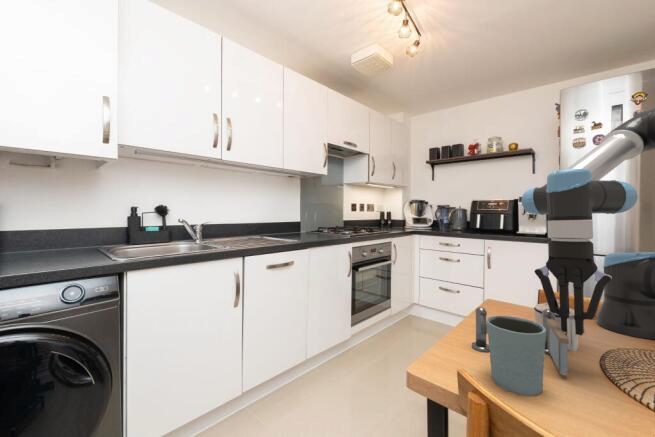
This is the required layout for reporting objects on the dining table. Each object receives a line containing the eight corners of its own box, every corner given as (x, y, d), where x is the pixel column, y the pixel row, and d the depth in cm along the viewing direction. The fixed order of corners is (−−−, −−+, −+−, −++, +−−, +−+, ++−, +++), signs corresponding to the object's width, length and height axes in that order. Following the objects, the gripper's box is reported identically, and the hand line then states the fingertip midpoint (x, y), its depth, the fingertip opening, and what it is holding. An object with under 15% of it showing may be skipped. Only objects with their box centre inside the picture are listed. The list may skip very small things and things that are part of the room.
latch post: (489, 344, 74) (489, 304, 74) (497, 352, 69) (497, 310, 69) (468, 343, 74) (468, 304, 74) (475, 351, 70) (475, 309, 70)
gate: (546, 349, 69) (546, 318, 69) (554, 350, 68) (553, 319, 68) (560, 374, 58) (559, 337, 58) (568, 376, 57) (568, 339, 57)
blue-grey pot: (519, 402, 51) (519, 336, 51) (475, 372, 60) (475, 317, 60) (559, 392, 53) (559, 329, 53) (511, 365, 63) (511, 312, 63)
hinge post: (552, 347, 72) (551, 306, 72) (564, 355, 68) (564, 312, 68) (533, 346, 73) (533, 306, 73) (545, 354, 68) (545, 311, 68)
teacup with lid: (571, 354, 68) (571, 306, 68) (528, 340, 76) (528, 298, 76) (586, 342, 75) (586, 298, 75) (545, 330, 83) (545, 291, 83)
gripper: (613, 240, 59) (616, 353, 58) (538, 238, 69) (541, 335, 68) (608, 241, 54) (612, 364, 53) (529, 239, 64) (532, 343, 63)
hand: (572, 348), depth 61 cm, fingers closed
